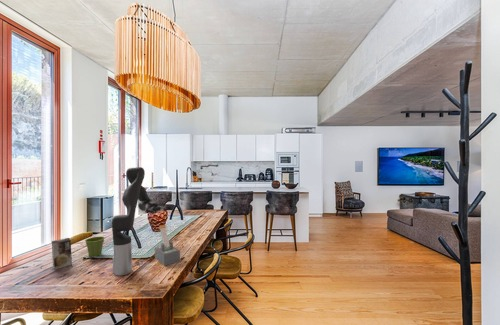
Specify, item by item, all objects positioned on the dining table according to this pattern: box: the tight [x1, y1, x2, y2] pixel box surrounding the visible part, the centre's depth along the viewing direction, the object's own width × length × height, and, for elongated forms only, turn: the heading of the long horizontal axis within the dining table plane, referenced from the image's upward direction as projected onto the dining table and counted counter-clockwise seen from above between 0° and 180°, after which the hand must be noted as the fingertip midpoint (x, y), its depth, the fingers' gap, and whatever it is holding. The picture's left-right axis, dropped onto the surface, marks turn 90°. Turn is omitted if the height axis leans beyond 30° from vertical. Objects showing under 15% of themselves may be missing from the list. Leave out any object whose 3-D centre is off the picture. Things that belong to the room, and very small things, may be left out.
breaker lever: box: [158, 224, 170, 248], centre depth 165 cm, size 2×4×15 cm
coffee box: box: [51, 237, 73, 270], centre depth 157 cm, size 9×6×16 cm
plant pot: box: [84, 236, 106, 258], centre depth 173 cm, size 12×12×11 cm
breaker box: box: [154, 241, 181, 267], centre depth 163 cm, size 16×10×11 cm, turn 40°
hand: (159, 211), depth 171 cm, fingers open, 8 cm apart
